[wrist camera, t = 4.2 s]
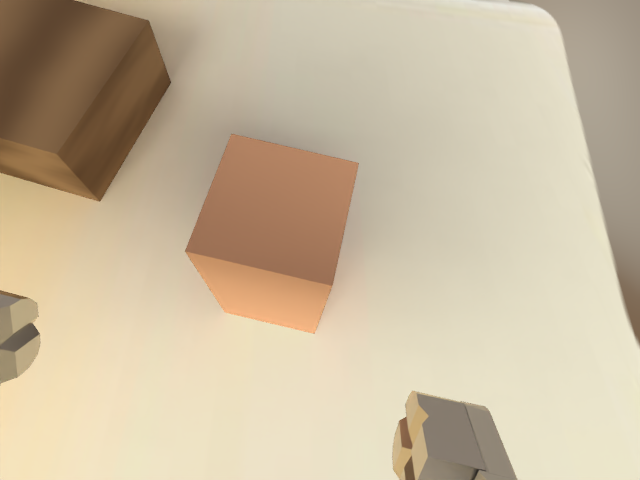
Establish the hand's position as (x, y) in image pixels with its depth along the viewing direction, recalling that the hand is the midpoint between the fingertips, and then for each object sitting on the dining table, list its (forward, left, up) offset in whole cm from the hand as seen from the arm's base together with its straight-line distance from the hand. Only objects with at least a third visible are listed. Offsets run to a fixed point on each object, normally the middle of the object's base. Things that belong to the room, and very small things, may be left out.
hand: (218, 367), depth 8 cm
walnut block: (-17, +13, -13) cm, 25 cm away
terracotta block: (0, +6, -12) cm, 14 cm away
